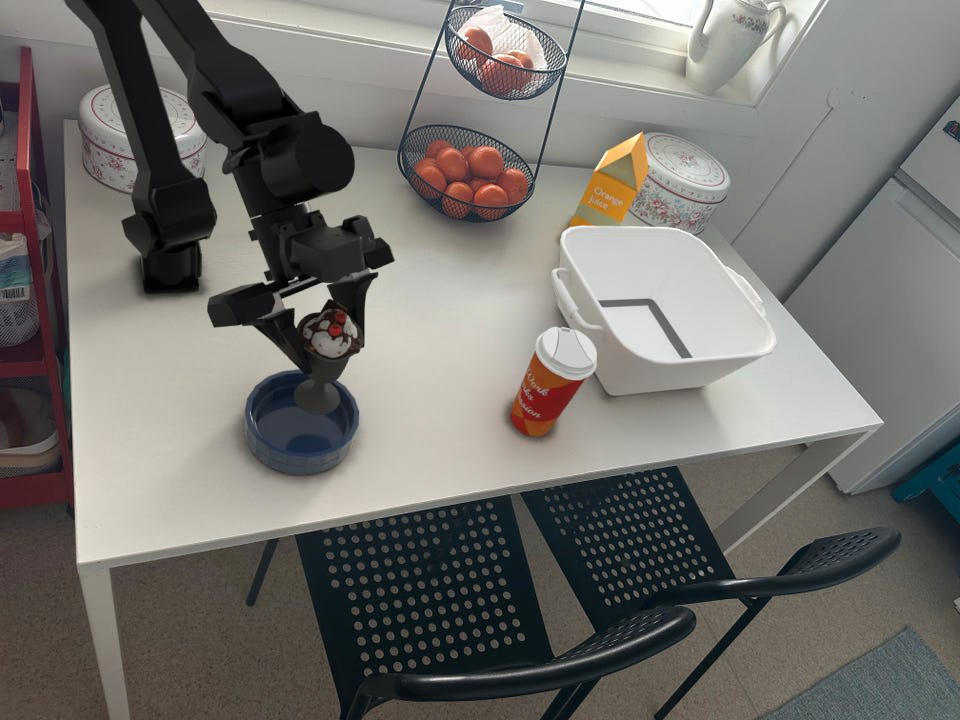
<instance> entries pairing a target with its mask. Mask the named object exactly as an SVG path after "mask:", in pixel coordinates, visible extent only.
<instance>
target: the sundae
mask: <svg viewBox="0 0 960 720" xmlns="http://www.w3.org/2000/svg"><path fill="white" fill-rule="evenodd" d="M346 313H347V309H346V308H345V307H343V306H342V305H340V304H339V303H337V302H335V301H333V299H332V298H328V299H327V301H326V302H325V304H323V307H322V309H321V310H320V311H317V312H311V313H308V314H306V315H305V316H303V317H302V318H301V319H300V320H299V322H298V324H297V326H296V329H297V332H298V334H299V336H300V339H301V341H302V344H303V346H304V348H305V351H306V353H307V355H308V358H309V361H310V364H311V368H312V373H311V374H309V375H307V376H308V377H309V378H310V380H307V381H304V382H302V383H301V384H299V385H298V386H297V388H296V389H295V392H294V400H295V402H296V404H297V405H298V407H299V408H301V409H302V410H303V411H305V412H307V413H310V414H313V415H324V414H328V413H330V412H332V411H333V410H335V409H336V408H337V407H338V405H339V402H340V396H339V393H338V391H337V389H336V388H335V387H334V386H333V385H332V384H330V383H331V382H334V381H336V380H337V381H338V379H339V378H340V377H341V375H342V374H343V372H344V371H345V369H346V367H347V365H348V363H349V360H350V358H351V357H353V356H354V355H358V354H359V353H360V352H361V349H362V348H361V347H362V345H363V342H364V339H363V334H362V331H361V329H360V328H359V326H358V325H357V323H356V322H355V321H354V320H352V319H351V318H349V316H348V315H347V314H346Z"/></svg>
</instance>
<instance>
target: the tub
mask: <svg viewBox="0 0 960 720" xmlns="http://www.w3.org/2000/svg"><path fill="white" fill-rule="evenodd" d="M559 251H560V252H559V267H556V268H554V269H552V271H551V272H550V280H551V286H552V289H553V291H554V294H555V296H556V298H557V309H558V311H559V313H560V316H561V317H562V318H563V320H564V322H565V324H566V325H567V328H570V330H573V329H575V330H578V331H579V332H581V333H583V334H584V335H585V336H587V337H588V338H589V339H590V340H591V342H592V343H593V344H594V346H595V349H596V352H597V359H596V361H597V365H596V369H595V371H594V372H593V374H594V376H595V378H596V380H597V381H598V383H599V385H600V387H601V388H602V390H603V392H604V394H605V395H607V396H608V397H612V398H617V397H624V396H635V395H644V394H653V393H663V392H672V391H681V390H691V389H701V388H705V387H707V386H710V385H712V384H713V383H716V382H717V381H719V380H721V379H722V378H723V379H724V378H725V377H727V376H729V375H730V374H733V373H734V372H736V371H739V370H740V369H742V368H744V367H746V366H748V365H750V364H751V363H754V362H755V361H758V360H759V359H761V358H763V357H765V356H769V355H772V354H773V352H774V350H775V349H776V348H777V346H778V343H777V336H776V333H775V331H774V329H773V327H772V326H771V323H770V322H769V321H768V320H767V315H768V314H767V311H766V309H765V307H764V302H763V300H762V299H761V297H760V296H759V295H758V293H757V291H755V289H754V288H753V286H752V285H751V284H750V283H749V282H748V281H747V279H745V277H744V276H743V275H739V274H738V273H737V272H735V270H733V269H732V268H730V267H728V266H725V265H724V263H723V262H722V261H721V260H720V258H719V257H718V256H717V255H716V254H715V252H714V251H713V250H712V249H711V248H710V247H709V246H708V245H707V244H706V243H705V242H704V241H703V240H702V239H700V238H699V237H697V236H695V235H693V234H692V233H690V232H688V231H685V230H682V229H679V228H675V227H669V226H638V225H637V226H635V225H634V226H632V225H620V226H575V227H570V228H568V227H567V229H565V230H564V231H562V232H561V236H560V239H559Z"/></svg>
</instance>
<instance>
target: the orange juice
mask: <svg viewBox="0 0 960 720" xmlns="http://www.w3.org/2000/svg"><path fill="white" fill-rule="evenodd" d="M645 142H646V141H645V137H644V130H642V131H641V132H639V133H638V134H635V135H634V136H632V137H630V138H628V139H626V140H625V141H623V142H621V143H619V144H617V145H616V146H614V147H612V148H609V149H608V150H606V152H605V153H604V154H603V157H602V158H601V160H600V161H599V163H598V164H597V166H596V167H595V168H594V171H593V173H592V176H591V177H590V179H589V181H588V184H587V186H586V189H585V190H584V193H583V195H582V197H581V199H580V201H579V203H578V205H577V207H576V209H575V211H574V214H573V216H572V218H571V221H570V223H569V225H568V227H567V229H568V228H570V227H575V226H622V223H623V221H624V220H625V219H624V218H625V217H626V216H627V214H628V211H629V209H630V208H631V206H632V204H633V202H634V201H635V199H636V197H637V194H638V193H639V192H640V190H641V188H642V187H643V185H644V183H645V181H646V179H647V176H648V175H649V172H650V169H649V163H648V162H649V160H648V154H647V149H646V143H645Z"/></svg>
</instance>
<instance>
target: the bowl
mask: <svg viewBox="0 0 960 720" xmlns="http://www.w3.org/2000/svg"><path fill="white" fill-rule="evenodd" d="M307 380H310V378H309V377H308V376H307V375H306V374H304V373H303V372H302V371H301V370H300V369H299V368H297V369H289V370H282V371H279V372H277V373H274V374H270V375H269V376H266V377H265V378H264V379H262V380H261V381H259V382H258V383H257V384H256V385H255V386H254V388H253V389H252V391H251V392H250V394H249V395H248V396H247V398H246V403H245V409H244V415H243V416H244V417H243V429H242V430H243V435H244V438H245V443H246V445H247V447H248V448H249V450H250V451H251V452H252V454H253V455H254V457H255V458H257V459H258V460H259V461H261V462H262V463H263V464H264V465H266V466H267V467H269V468H271V469H274V470H277V471H279V472H282V473H284V474H292V475H293V474H294V475H302V476H303V475H304V476H305V475H311V474H318V473H322V472H324V471H327V470H329V469H331V468H333V467H334V466H337V465H338V464H339V463H341V462H342V461H343V460H344V458H346V457H347V456H348V455H349V453H350V451H351V449H352V447H353V445H354V443H355V439H356V436H357V433H358V428H359V425H360V409H359V406H358V403H357V400H356V398H355V396H354V395H353V394H352V393H351V391H350V390H349V389H348V388H347V386H346V385H344V384H343V383H341V382H340V381H339V380H338V379H337V380H336V381H334V382H331V383H330V384H332V385H333V386H334V387H335V388H336V389H337V391H338V393H339V396H340V402H339V405H338V407H337V408H336V409H335V410H333V411H332V412H330V413H328V414H324V415H313V414H310V413H307V412H305V411H303V410H302V409H301V408H299V407H298V405H297V404H296V402H295V400H294V392H295V389H296V388H297V386H298V385H299V384H301V383H302V382H304V381H307Z"/></svg>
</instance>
